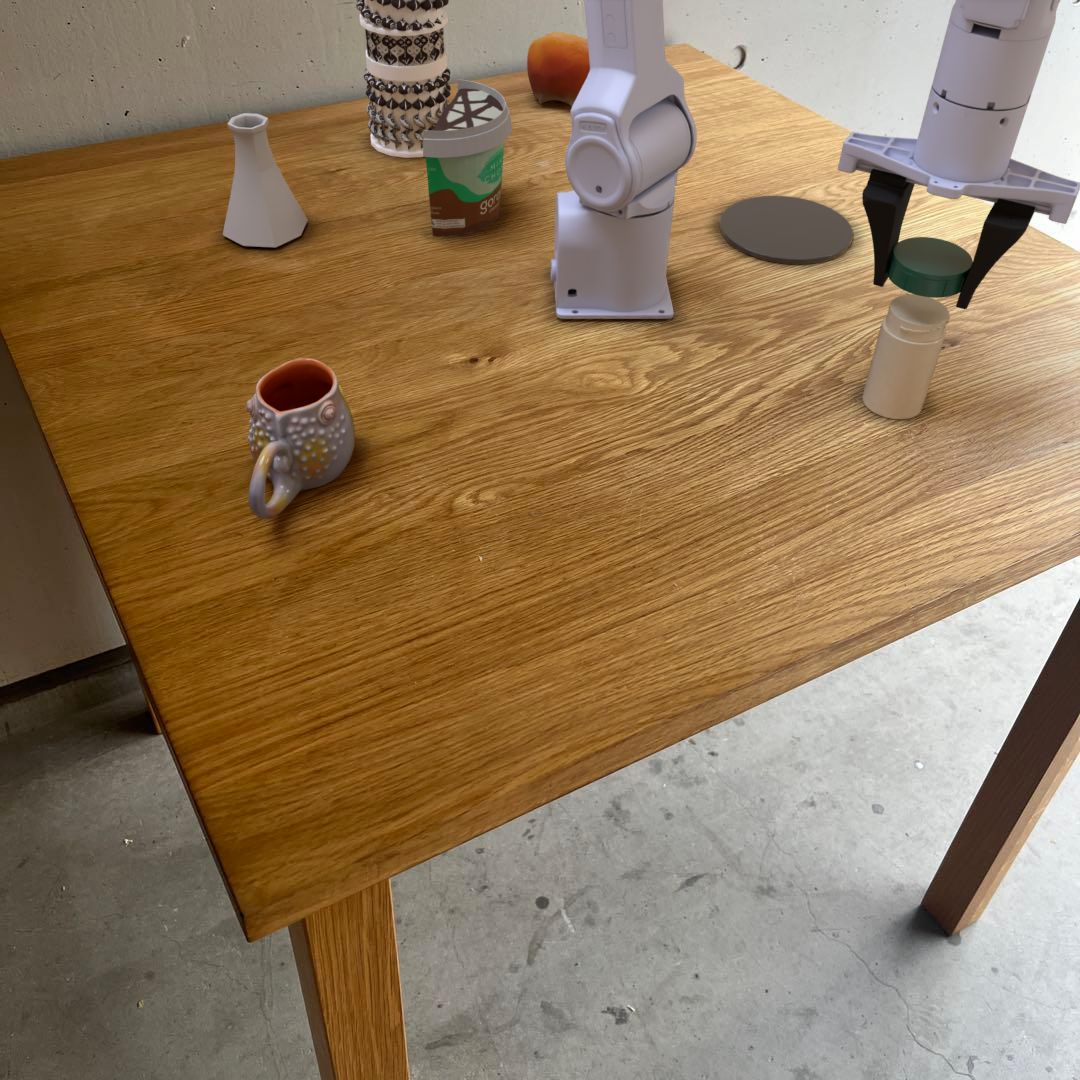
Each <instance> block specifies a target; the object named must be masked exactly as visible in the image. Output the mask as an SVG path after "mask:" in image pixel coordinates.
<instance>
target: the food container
mask: <svg viewBox="0 0 1080 1080" xmlns="http://www.w3.org/2000/svg"><path fill="white" fill-rule="evenodd" d="M449 103H450V104H449V105H447V106H446V107H445V108H444V110H443V112H442V114H441V116H440V118H439V120H438V122H437V124H436V126H435V128H434V129H433V131H430V130H424V139H423V157H422V158H425V165H426V166H425V167H426V176H427V187H428V188H427V190H428V199H429V209H430V210H429V211H430V221H431V222H430V223H431V234H432V236H439V237H453V236H464V235H469V234H472V233H477V232H480V231H482V230H484V229H487V228H489V227H490V226H492V225H493V224H494V223H495V222H496V221H497V220H498V218H499V217H500V212H501V211H500V210H501V199H502V198H501V197H502V183H503V168H504V154H505V153H504V152H505V142H506V141H507V140H508V139H509V137H510V136H511V134H512V132H513V122H512V117H511V113H510V107H509V106H508V104H507V102H506V99H505V97H504V96H503V95H502V93H500V92H499V91H497V90H496V89H495V88H492V87H491V86H489V85H486V84H484V83H480V82H476V81H472V80H467V79H461V78H460V79H459V78H457V92H456V93H455V96H454V98H453V99H452V101H450V102H449Z"/></svg>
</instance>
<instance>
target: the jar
mask: <svg viewBox="0 0 1080 1080" xmlns="http://www.w3.org/2000/svg"><path fill="white" fill-rule="evenodd" d="M950 318H951V316H950V311H949V310H948V307H947V306H946V305H945V304H943V303H942V302H940V301H939V300H937V299H936V298H931V297H924V296H919V295H915V294H912V293H907V294H901V295H898V296H895V297H894V298H893V299H892V300H891V301H890V303H889V307H888V310H887V313H886V314H885V316H884V317H883V319H882V321H881V325H880V328H879V332H878V336H877V339H876V343H875V347H874V350H873V354H872V358H871V361H870V364H869V370H868V373H867V377H866V380H865V384H864V387H863V391H862V395H861V398H862V402H863V404H864V405H865V407H866V408H867V409H868V410H870V412H872V413H874V414H876V415H878V416H880V417H883V418H887V419H891V420H907V419H911V418H914V417H917V416H918V415H919V414H920V413H921V412H922V410H923V408H924V405H925V401H926V398H927V396H928V392H929V389H930V386H931V382H932V379H933V376H934V373H935V370H936V367H937V364H938V361H939V358H940V355H941V351H942V348H943V345H944V342H945V339H946V336H947V329H946V328H947V327H946V326H947V325H948V324H949V322H950Z"/></svg>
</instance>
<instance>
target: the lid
mask: <svg viewBox="0 0 1080 1080" xmlns="http://www.w3.org/2000/svg"><path fill="white" fill-rule="evenodd" d="M972 263H973V257H972V256H971V254H970V253H969V252H968V251H967V250H966V249H965V248H963V247H962V246H960V245H958V244H956V243H954V242H952V241H949V240H945V239H942V238H937V237H929V236H915V237H909V238H905V239H901V240H900V241H898V243H897V244H896V245H895V246H894V248H893V251H892V254H891V258H890V263H889V267H888V271H887V273H888V280H890V282H891V283H892V284H893V285H895V286H896V287H897V288H899V289H901V290H902V291H904V292H906V293H908V294H915V295H919V296H924V297H930V298H933V299H939V298H949V297H953V296H956V295H958V294H960V292H961V290H962V288H963V285H964V283H965V281H966V278H967V276H968V274H969V271H970V269H971V266H972Z"/></svg>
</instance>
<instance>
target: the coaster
mask: <svg viewBox="0 0 1080 1080" xmlns="http://www.w3.org/2000/svg"><path fill="white" fill-rule="evenodd" d="M718 228H719V231H720V235H721V236H722V238H723V239H724V240H725V241H726V242H727V243H728V244H729V246H732V248H734V249H736V250H737V251H739V252H741V253H743V254H745V255H748V256H750V257H752V258H756V259H759V260H762V261H766V262H771V263H776V264H784V265H813V264H819V263H825V262H827V261H830V260H831V261H832V260H833V259H836V258H838V257H839V256H841V255H843V254H844V253H845V252H846V251H848V249H849V248H850V247H851V245H852V242H853V238H854V230H853V227H852V226H851V223H850V222H849V221H848V220H847V219H846V218H845V217H844V216H843V215H842V214H840V213H839V212H837V210H835V209H833V208H832V207H830V206H827V205H824V204H822V203H819V202H816V201H812V200H809V199H805V198H801V197H794V196H786V195H761V196H754V197H748V198H745V199H742V200H738V201H736V202H734V203H732V204H731V205H730V206H728V207H726V208H725V209H724V211H723V212H722V213H721V214H720V218H719V226H718Z"/></svg>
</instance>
